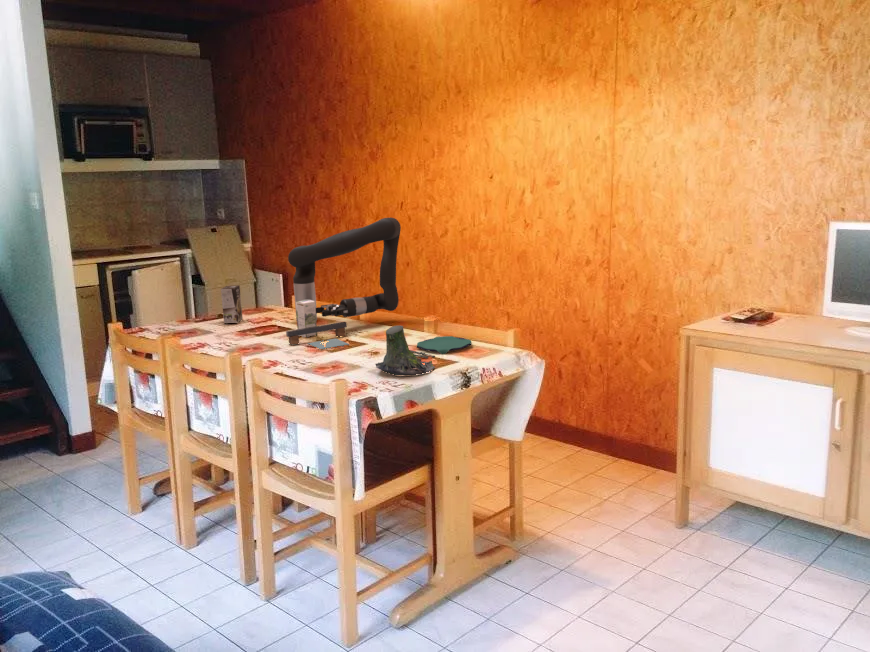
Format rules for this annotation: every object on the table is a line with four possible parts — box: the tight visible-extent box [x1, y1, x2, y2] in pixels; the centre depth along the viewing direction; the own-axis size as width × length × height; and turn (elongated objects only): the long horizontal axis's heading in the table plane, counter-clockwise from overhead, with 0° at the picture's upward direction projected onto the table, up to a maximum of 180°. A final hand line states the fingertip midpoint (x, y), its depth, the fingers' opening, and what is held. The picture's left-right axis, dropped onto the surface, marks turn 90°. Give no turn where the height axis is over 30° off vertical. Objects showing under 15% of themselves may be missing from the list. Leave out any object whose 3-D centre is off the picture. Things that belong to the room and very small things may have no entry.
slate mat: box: [307, 337, 350, 350], centre depth 291 cm, size 12×12×1 cm
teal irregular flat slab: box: [409, 335, 472, 361], centre depth 277 cm, size 20×30×2 cm, turn 133°
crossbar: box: [285, 321, 348, 338], centre depth 299 cm, size 2×25×2 cm, turn 122°
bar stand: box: [288, 328, 347, 345], centre depth 299 cm, size 3×23×4 cm, turn 123°
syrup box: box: [295, 300, 318, 338], centre depth 306 cm, size 6×6×14 cm
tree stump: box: [375, 325, 436, 376], centre depth 250 cm, size 18×20×18 cm
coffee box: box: [220, 285, 244, 324], centre depth 339 cm, size 9×6×16 cm
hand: (317, 312), depth 309 cm, fingers open, 8 cm apart
